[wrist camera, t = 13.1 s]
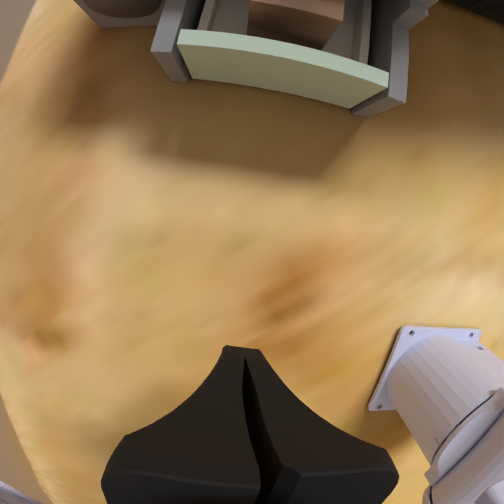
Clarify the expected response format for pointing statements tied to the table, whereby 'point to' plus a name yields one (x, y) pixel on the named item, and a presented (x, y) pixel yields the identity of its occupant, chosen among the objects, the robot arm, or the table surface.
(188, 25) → the box
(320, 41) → the walnut block
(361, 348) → the table surface
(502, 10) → the radio cassette player
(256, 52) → the drawer
